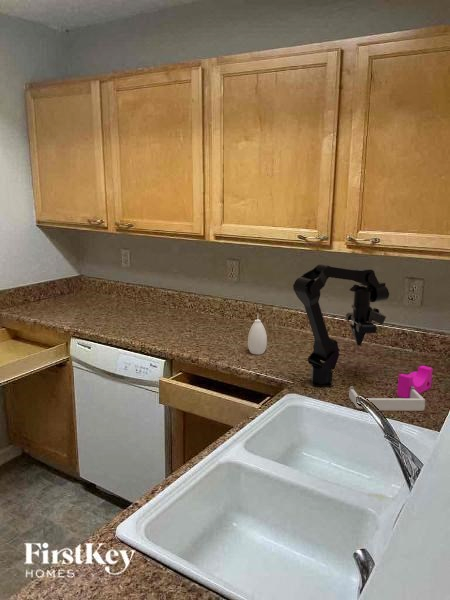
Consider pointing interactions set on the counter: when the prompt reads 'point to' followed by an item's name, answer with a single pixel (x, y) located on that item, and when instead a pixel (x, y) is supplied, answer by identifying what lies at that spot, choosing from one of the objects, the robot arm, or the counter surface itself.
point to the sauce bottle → (257, 338)
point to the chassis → (394, 402)
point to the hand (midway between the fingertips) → (358, 345)
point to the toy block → (415, 381)
